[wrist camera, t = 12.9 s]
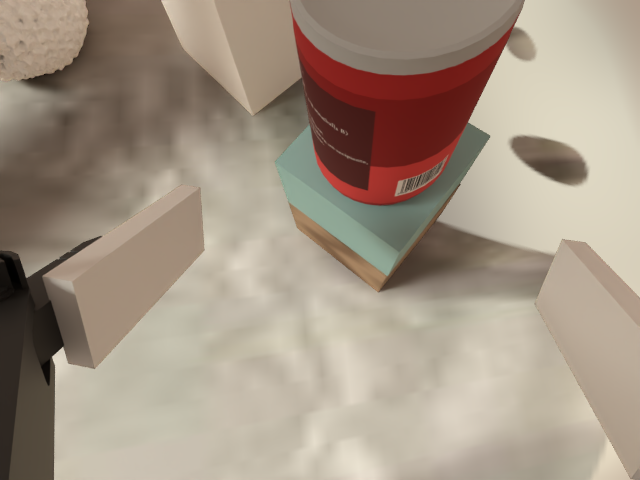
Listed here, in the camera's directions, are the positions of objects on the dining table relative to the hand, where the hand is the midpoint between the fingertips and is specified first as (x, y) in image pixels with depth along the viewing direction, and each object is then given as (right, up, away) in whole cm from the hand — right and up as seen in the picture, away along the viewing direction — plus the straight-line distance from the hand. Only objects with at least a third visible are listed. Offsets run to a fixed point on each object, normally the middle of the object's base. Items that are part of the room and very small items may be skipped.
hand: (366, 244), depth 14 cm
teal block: (+2, +4, +14) cm, 15 cm away
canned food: (+2, +5, +8) cm, 10 cm away
